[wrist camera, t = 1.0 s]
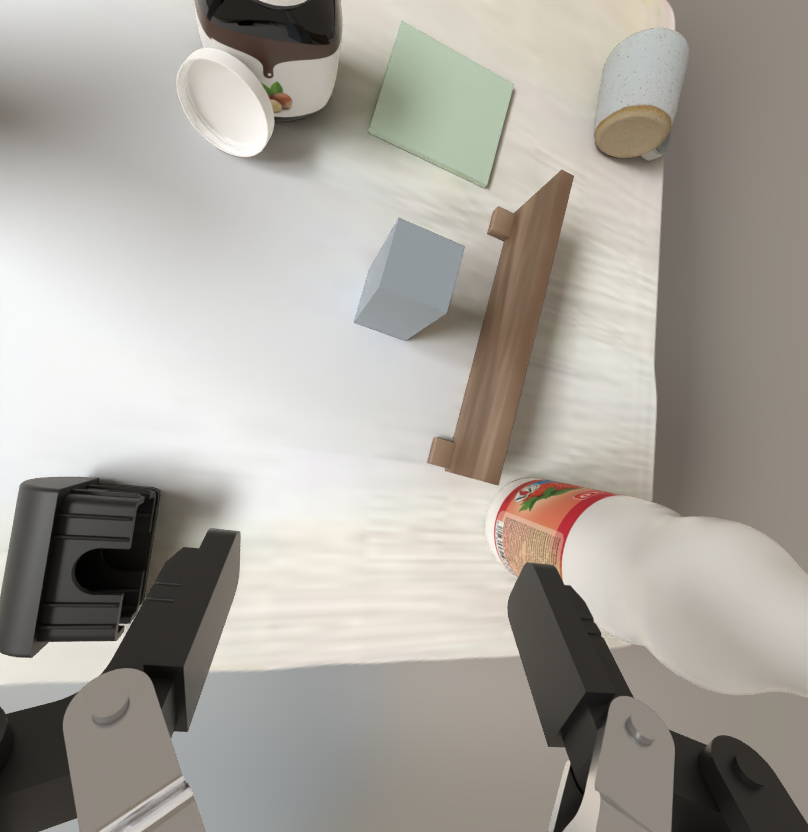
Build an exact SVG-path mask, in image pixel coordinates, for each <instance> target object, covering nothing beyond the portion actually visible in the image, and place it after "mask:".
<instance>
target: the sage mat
mask: <svg viewBox="0 0 808 832" xmlns="http://www.w3.org/2000/svg"><path fill="white" fill-rule="evenodd" d="M513 86H514V84H513V83H511V82H509V81H508V80H506V79H504V78H502V77H501V76H499V75H497V74H495V73H494V72H492V71H490V70H488V69H486V68H485V67H483V66H481V65H479V64H478V63H476V62H474V61H472V60H471V59H469V58H467V57H465V56H464V55H462V54H460V53H458V52H456V51H455V50H453V49H451V48H449V47H448V46H446V45H444V44H442V43H441V42H439V41H437V40H435V39H433V38H432V37H430V36H428V35H426V34H425V33H423V32H421V31H419V30H418V29H416V28H414V27H412V26H410V25H409V24H407V23H405V22H403V21H401V25H400V28H399V31H398V35H397V38H396V41H395V45H394V48H393V51H392V55H391V58H390V61H389V65H388V68H387V71H386V75H385V78H384V81H383V84H382V88H381V91H380V94H379V98H378V101H377V104H376V108H375V111H374V114H373V118H372V121H371V124H370V128H369V131H368V133H370V134H372V135H374V136H376V137H378V138H381V139H383V140H385V141H387V142H389V143H391V144H393V145H395V146H397V147H399V148H401V149H403V150H406V151H408V152H410V153H412V154H414V155H416V156H418V157H420V158H422V159H424V160H426V161H428V162H431V163H433V164H435V165H437V166H439V167H441V168H443V169H445V170H447V171H449V172H451V173H454V174H456V175H458V176H460V177H462V178H464V179H466V180H468V181H470V182H472V183H474V184H476V185H479V186H481V187H483V188H485V187H486V186H487V184H488V180H489V176H490V173H491V169H492V165H493V161H494V158H495V154H496V150H497V146H498V143H499V139H500V135H501V131H502V128H503V124H504V120H505V116H506V112H507V109H508V105H509V101H510V97H511V94H512V90H513Z"/></svg>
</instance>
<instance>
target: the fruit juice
mask: <svg viewBox="0 0 808 832" xmlns="http://www.w3.org/2000/svg"><path fill="white" fill-rule="evenodd" d="M485 537H486V542H487V545H488V547H489V549H490V551H491V553H492V555H493V556H494V558H495V559H496V560H497V562H498V563H499V564H500V565H502V566H503V567H504V568H505V569H506V570H508V571H509V572H511V573H512V574H514V575H515V576H517V577H519V575H520V572H521V570H522V568H523V566H524V565H525V563H527V562H531V563H541V564H550V565H554V566H555V567H556V568H557V570H558V572H559V574H560V576H561V579H562V581H563V583H564V585H571V586H572V588H573V589H574V590H575V591H576V592H577V593H578V594H579V595H580V597H581V598H582V599H583V600H584V601H585V602H586V604H587V606H588V608H589V610H590V612H591V614H592V616H593V618H594V623H596V624H597V626H598V628H599V629H601V630H603V631H604V632H606V633H608V634H610V635H612V636H614V637H616V638H618V639H620V640H623V641H625V642H628V643H631V644H635V645H642V646H645V647H646V648H647V649H648V650H649V651H650V652H651V653H652V654H653V655H654V656H655V657H656V658H657V659H658V660H659V661H660V662H661V663H662V664H663V665H665V666H666V667H667V668H668V669H670V670H671V671H672V672H673V673H675V674H677V675H678V676H680V677H682V678H684V679H686V680H687V681H689V682H691V683H693V684H695V685H697V686H699V687H702V688H704V689H707V690H710V691H713V692H717V693H722V694H729V695H749V694H757V693H763V692H771V691H778V692H786V693H791V694H795V695H799V696H803V697H808V574H807V573H805V572H804V571H803V570H802V569H801V568H800V567H799V566H798V565H797V563H796V562H795V561H794V560H793V559H792V558H791V556H790V555H789V554H788V553H787V552H786V551H785V550H784V549H783V548H782V547H781V546H780V545H778V544H777V543H776V542H775V541H774V540H772V539H771V538H770V537H768V536H766V535H765V534H763V533H762V532H760V531H758V530H756V529H754V528H752V527H750V526H747V525H745V524H742V523H739V522H736V521H732V520H728V519H725V518H721V517H712V516H690V517H682V516H681V515H680V514H678V513H677V512H675V511H673V510H671V509H669V508H667V507H665V506H662V505H659V504H656V503H653V502H650V501H646V500H643V499H639V498H635V497H630V496H624V495H618V494H613V493H608V492H603V491H598V490H594V489H589V488H584V487H579V486H574V485H569V484H564V483H559V482H554V481H549V480H544V479H539V478H524V479H519V480H516V481H514V482H511V483H509V484H508V485H506V486H505V487H503V488H502V489H501V490H500V491H499V492H498V493H497V494H496V495H495V497H494V498H493V500H492V501H491V503H490V505H489V508H488V510H487V514H486V518H485Z"/></svg>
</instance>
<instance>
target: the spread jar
mask: <svg viewBox="0 0 808 832" xmlns="http://www.w3.org/2000/svg"><path fill="white" fill-rule="evenodd" d="M194 6H195V12H196V18H197V23H198V28H199V33H200V38H201V43H202V47H203V48H201V49H198V50H196V51H194V52H193V53H192V54H191V55H190V56H189V57H188V58H187V59H186V60H185V62H184V63H183V64H182V65H181V66H180V68H179V71H178V73H177V79H176V87H177V94H178V97H179V101H180V103H181V106H182V108H183V110H184V112H185V114H186V116H187V117H188V119H189V121H190V122H191V123H192V125H193V126H194V127H195V129H196V130H197V131H198V132H199V133H200V134H201V135H202V136H203V137H204V138H205V139H206V140H207V141H209V142H210V143H211V144H212V145H214V146H215V147H217V148H218V149H220V150H222V151H224V152H226V153H228V154H231V155H234V156H238V157H251V156H255V155H257V154H258V153H260V152H261V151H262V150H263V149H264V147H265V146H266V144H267V143H268V141H269V139H270V138H271V136H272V133H273V130H274V121H280V122H282V121H293V120H298V119H302V118H305V117H307V116H310V115H312V114H314V113H316V112H317V111H319V110H320V109H322V108H323V107H324V106H325V105H326V104H327V102H328V100H329V98H330V97H331V95H332V92H333V89H334V85H335V81H336V76H337V70H338V64H339V58H340V51H341V42H342V9H341V0H194Z"/></svg>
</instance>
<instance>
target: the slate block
mask: <svg viewBox="0 0 808 832" xmlns="http://www.w3.org/2000/svg"><path fill="white" fill-rule="evenodd" d="M464 248H465V246H463V245H461V244H459V243H456V242H454V241H452V240H449V239H447V238H445V237H442V236H440V235H438V234H435V233H433V232H431V231H429V230H426V229H424V228H422V227H419V226H417V225H415V224H412V223H410V222H408V221H405V220H403V219H401V218H398V220H397V222H396V224H395V225H394V227H393V229H392V231H391V232H390V234H389V236H388V238H387V239H386V241H385V243H384V245H383V246H382V248H381V250H380V252H379V253H378V255H377V257H376V259H375V260H374V262H373V264H372V266H371V267H370V269H369V272H368V275H367V278H366V282H365V285H364V289H363V292H362V296H361V299H360V303H359V306H358V309H357V313H356V316H355V320H354V323H356V324H359V325H362V326H365V327H368V328H371V329H373V330H376V331H379V332H382V333H385V334H388V335H390V336H393V337H396V338H399V339H402V340H405V341H406V340H408V339H409V338H411V337H412V336H414V335H415V334H417V333H418V332H420V331H421V330H423V329H424V328H426V327H427V326H429V325H430V324H432V323H433V322H434V321H436V320H437V319H439V318H440V317H442V316H443V315H445V314H446V313H447V311H448V308H449V304H450V300H451V296H452V293H453V289H454V285H455V281H456V278H457V274H458V270H459V266H460V263H461V259H462V255H463V251H464Z"/></svg>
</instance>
